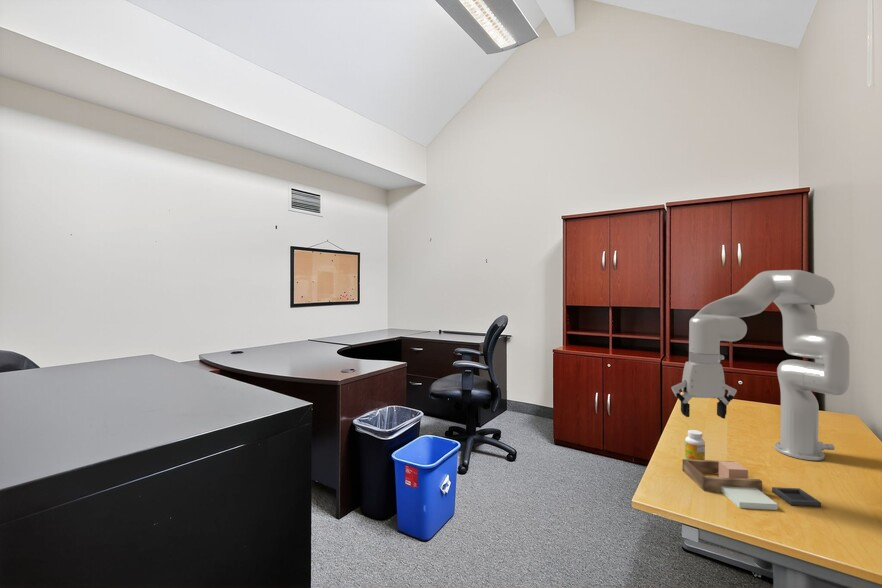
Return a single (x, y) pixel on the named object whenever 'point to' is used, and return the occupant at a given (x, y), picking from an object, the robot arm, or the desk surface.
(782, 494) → the dark gray rectangular tray
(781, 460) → the desk surface
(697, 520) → the desk surface
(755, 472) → the desk surface
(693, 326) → the robot arm
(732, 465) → the terracotta cube
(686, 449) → the supplement bottle
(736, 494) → the sage tile
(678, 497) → the desk surface
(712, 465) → the wooden tray frame
